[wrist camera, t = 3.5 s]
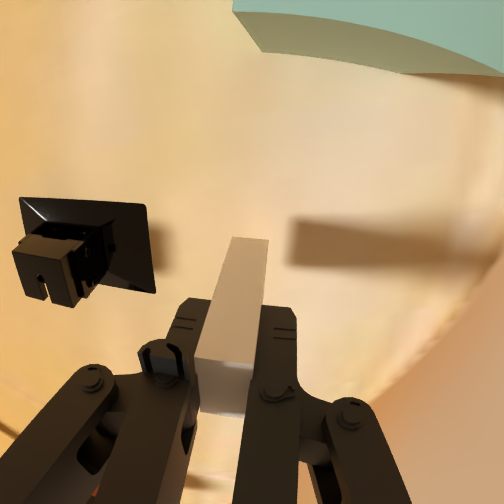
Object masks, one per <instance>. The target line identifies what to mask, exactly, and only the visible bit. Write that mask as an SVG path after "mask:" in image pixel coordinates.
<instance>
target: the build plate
mask: <svg viewBox="0 0 504 504" xmlns="http://www.w3.org/2000/svg"><path fill="white" fill-rule="evenodd" d="M19 203H20V209H21V214H22V219H23V224H24V229H25V234H26V236H25V237H24V238H23V239H21V240H20V241H19V242H18V244H19V245H18V246H17V247H16V248H15V249H14V250H12V255H13V258H14V261H15V265H16V268H17V271H18V274H19V277H20V280H21V283H22V286H23V289H24V292H25V295H26V296H28V297H32V298H35V299H39V300H42V301H45V299H46V298H47V297H48V294H47V291H46V288H45V284H44V283H46V286H47V289H48V292H49V295H50V299H51V302H52V303H54V304H57V305H61V306H65V307H69V308H74V307H75V306H76V305H77V303H78V302H79V301H80V299H81V298H86V299H87V297H88V296H89V295H90V293H91V292H92V291H93V290H94V288H95V287H96V286H97V285H98V284H102V285H107V286H112V287H118V288H123V289H129V290H134V291H140V292H146V293H152V294H155V293H156V287H155V280H154V272H153V265H152V257H151V249H150V240H149V230H148V221H147V210H146V206H145V205H144V204H139V203H125V202H110V201H94V200H76V199H56V198H34V197H19Z"/></svg>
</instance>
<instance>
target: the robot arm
mask: <svg viewBox="0 0 504 504" xmlns="http://www.w3.org/2000/svg"><path fill="white" fill-rule="evenodd" d="M268 241H269V240H262V239H252V238H241V237H232V239H231V242H230V245H229V248H228V251H227V254H226V257H225V260H224V263H223V266H222V270H221V273H220V276H219V279H218V282H217V285H216V288H215V291H214V294H213V297H212V300H205V299H197V298H188V299H187V300H186V301H184V302H183V303H182V304H181V305H180V306H179V308H178V310H177V313H176V315H175V319H174V320H173V322H172V324H171V327H170V329H169V331H168V334H167V336H166V339H157V340H153V341H150V342H148V343H147V344H145V345H143V346H142V347H141V349H140V350H139V351H138V352H137V353H138V357H139V360H140V364H141V367H142V371H143V372H140V373H136V374H126V375H113V374H112V372H111V370H109V369H108V368H107V367H106V366H103V365H99V364H89V365H86V366H84V367H81V368H80V369H79V370H77V371H76V372H75V373H74V374H73V375H72V376H71V377H70V379H69V380H68V381H67V382H66V383H65V384H64V385H63V386H62V387H61V388H60V390H59V391H58V392H57V393H56V394H55V395H54V396H53V397H52V399H51V400H50V401H49V402H48V403H47V404H46V405H45V406H44V408H43V409H42V410H41V411H40V412H39V413H38V414H37V415H36V417H35V418H34V419H33V420H32V421H31V422H30V424H29V425H28V426H27V427H26V428H25V429H24V430H23V432H22V433H21V434H20V435H19V436H18V438H17V439H16V440H15V441H14V442H13V443H12V445H11V446H10V447H9V448H8V449H7V451H6V452H5V453H4V454H3V455H2V457H1V458H0V504H86V503H87V501H88V500H89V498H90V497H91V496H92V494H93V493H94V491H95V490H96V488H97V487H98V486H99V488H98V491H97V493H96V496H95V499H94V502H93V504H180V500H181V495H182V491H183V487H184V482H185V478H186V474H187V469H188V465H189V461H190V456H191V452H192V448H193V444H194V439H195V435H196V431H197V414H198V410H199V406H200V412H203V413H209V414H216V415H223V416H230V417H238V418H244V425H243V432H242V439H241V446H240V453H239V460H238V467H237V473H236V480H235V487H234V493H233V500H232V504H297V489H298V463H299V461H302V462H305V463H307V466H308V470H309V473H310V477H311V481H312V484H313V488H314V492H315V495H316V499H317V503H318V504H412V502H411V500H410V497H409V495H408V492H407V490H406V487H405V485H404V482H403V480H402V477H401V475H400V472H399V470H398V467H397V465H396V463H395V460H394V458H393V455H392V453H391V451H390V448H389V446H388V444H387V441H386V439H385V437H384V434H383V432H382V430H381V427H380V425H379V423H378V420H377V418H376V416H375V414H374V412H373V410H372V409H371V407H370V406H369V405H368V404H367V403H365V402H364V401H362V400H360V399H357V398H353V397H344V398H341V399H338V400H335V401H334V402H333V403H330V402H327V401H324V400H320V399H317V398H315V397H313V396H311V395H309V394H308V393H307V392H305V391H304V390H303V389H302V387H301V386H300V384H299V382H298V379H297V332H296V331H297V318H296V316H295V315H294V313H293V311H292V310H291V308H289V307H278V306H268V305H262V303H263V294H264V284H265V273H266V263H267V252H268ZM99 484H100V485H99Z"/></svg>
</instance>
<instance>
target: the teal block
mask: <svg viewBox="0 0 504 504" xmlns="http://www.w3.org/2000/svg"><path fill="white" fill-rule="evenodd" d="M232 12H233V13H234V14H235V16H236V17H237V18H238V20H239V21H240V22H241V24H242V25H243V26H244V28H245V29H246V30H247V32H248V33H249V34H250V36H251V37H252V39H253V40H254V41H255V43H256V44H257V46H258V47H259V48H260V50H261V51H262V52H268V53H281V54H292V55H301V56H310V57H317V58H325V59H331V60H338V61H343V62H349V63H355V64H360V65H365V66H370V67H374V68H379V69H383V70H388V71H392V72H396V73H400V74H408V73H446V74H470V75H484V76H496V77H504V0H233V9H232Z"/></svg>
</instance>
